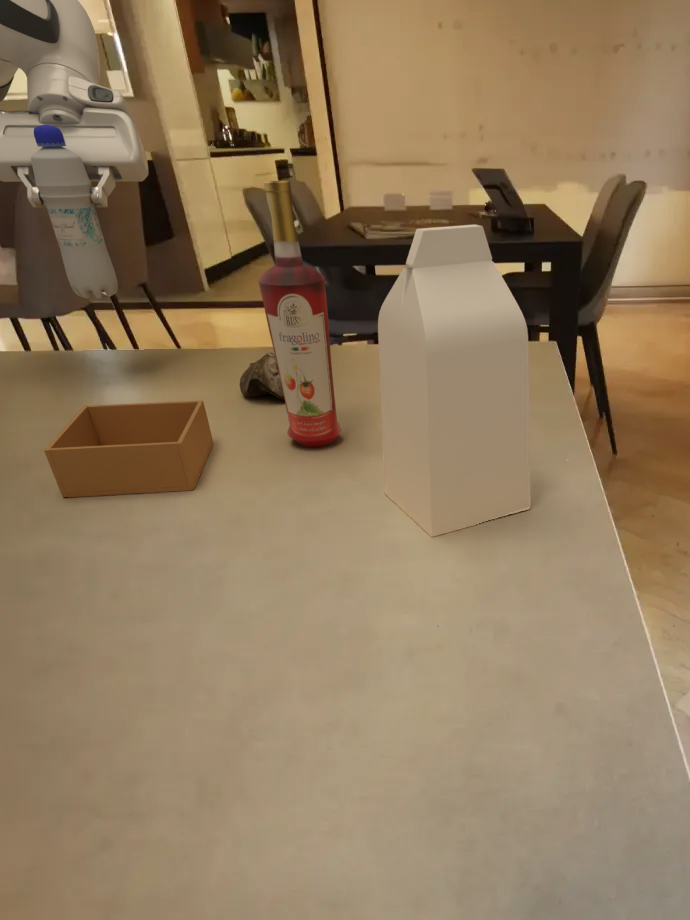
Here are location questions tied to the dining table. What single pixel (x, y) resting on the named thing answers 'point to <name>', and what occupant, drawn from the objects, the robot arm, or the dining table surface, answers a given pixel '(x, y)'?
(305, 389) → the liquor
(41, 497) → the dining table surface
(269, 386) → the fossilized seashell
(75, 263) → the bottle
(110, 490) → the shallow wooden crate
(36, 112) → the robot arm
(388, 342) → the milk
